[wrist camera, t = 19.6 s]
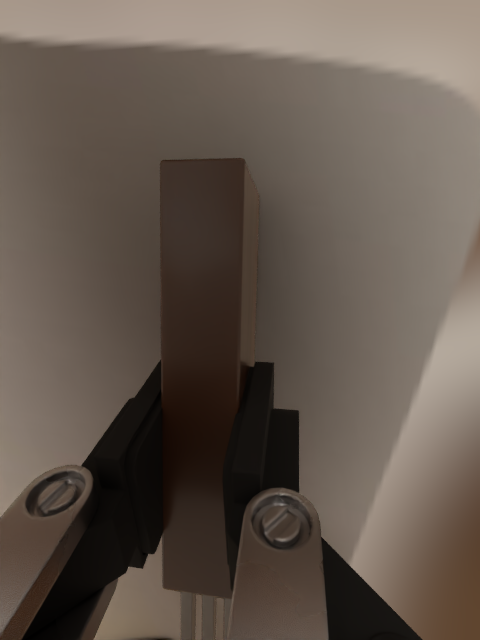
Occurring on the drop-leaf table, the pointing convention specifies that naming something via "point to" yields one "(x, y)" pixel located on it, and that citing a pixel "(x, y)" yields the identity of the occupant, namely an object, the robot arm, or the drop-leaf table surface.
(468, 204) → the drop-leaf table surface
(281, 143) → the drop-leaf table surface
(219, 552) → the fork
